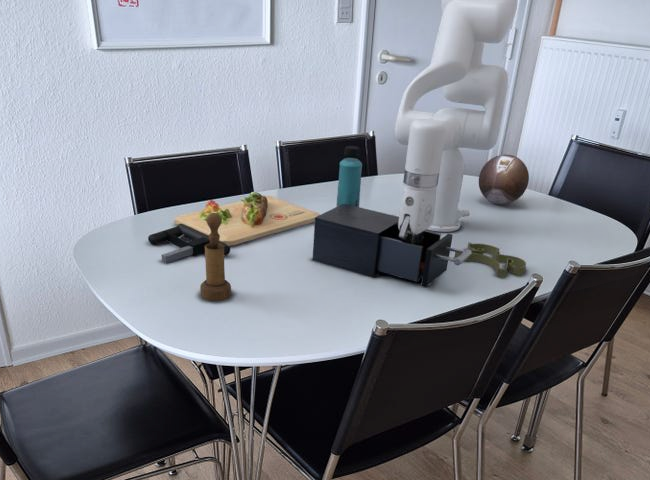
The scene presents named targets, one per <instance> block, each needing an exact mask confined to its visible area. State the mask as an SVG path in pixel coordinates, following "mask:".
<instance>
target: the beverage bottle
mask: <svg viewBox="0 0 650 480" xmlns="http://www.w3.org/2000/svg"><path fill="white" fill-rule="evenodd" d="M343 155H344V156H347V157H345V158H343V159H342V160H341V161H340V162H339V172H338V184H337V195H336V207H338V206H340V205H342V204H347V205H352V206H356V207H360V201H361V198H360V197H361V184H362V168H363V163H362V161H360V160H359V159H358V158H356V157H359V156H360V147H358V146H355V145H347V146H345V147H344V153H343Z"/></svg>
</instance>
